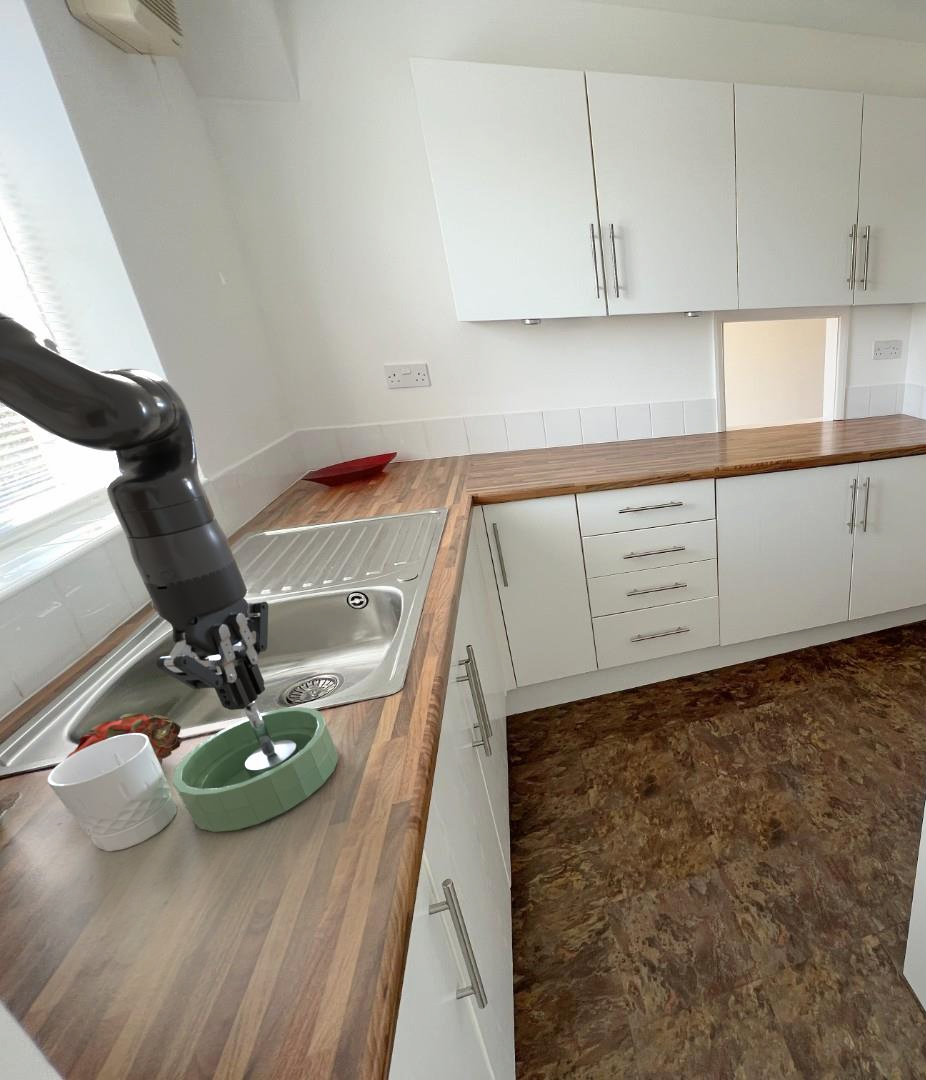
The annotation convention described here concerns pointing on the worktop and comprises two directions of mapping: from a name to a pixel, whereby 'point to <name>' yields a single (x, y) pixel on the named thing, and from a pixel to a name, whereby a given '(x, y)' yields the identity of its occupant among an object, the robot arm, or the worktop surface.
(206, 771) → the bowl
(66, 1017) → the worktop surface
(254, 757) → the weighted base post
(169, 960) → the worktop surface
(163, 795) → the white cup
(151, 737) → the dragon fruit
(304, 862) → the worktop surface
